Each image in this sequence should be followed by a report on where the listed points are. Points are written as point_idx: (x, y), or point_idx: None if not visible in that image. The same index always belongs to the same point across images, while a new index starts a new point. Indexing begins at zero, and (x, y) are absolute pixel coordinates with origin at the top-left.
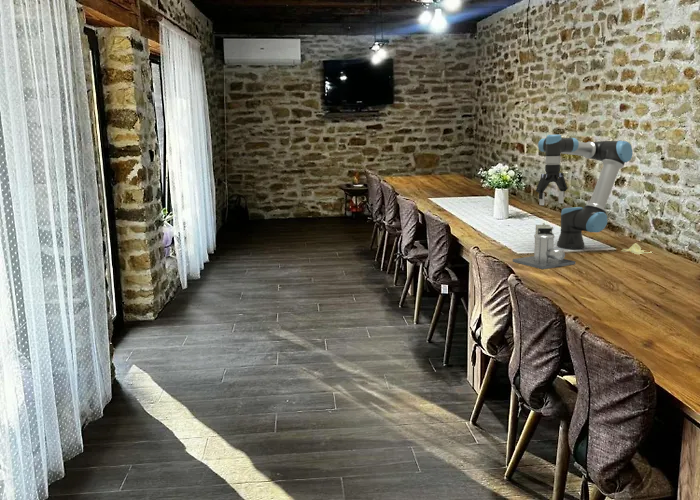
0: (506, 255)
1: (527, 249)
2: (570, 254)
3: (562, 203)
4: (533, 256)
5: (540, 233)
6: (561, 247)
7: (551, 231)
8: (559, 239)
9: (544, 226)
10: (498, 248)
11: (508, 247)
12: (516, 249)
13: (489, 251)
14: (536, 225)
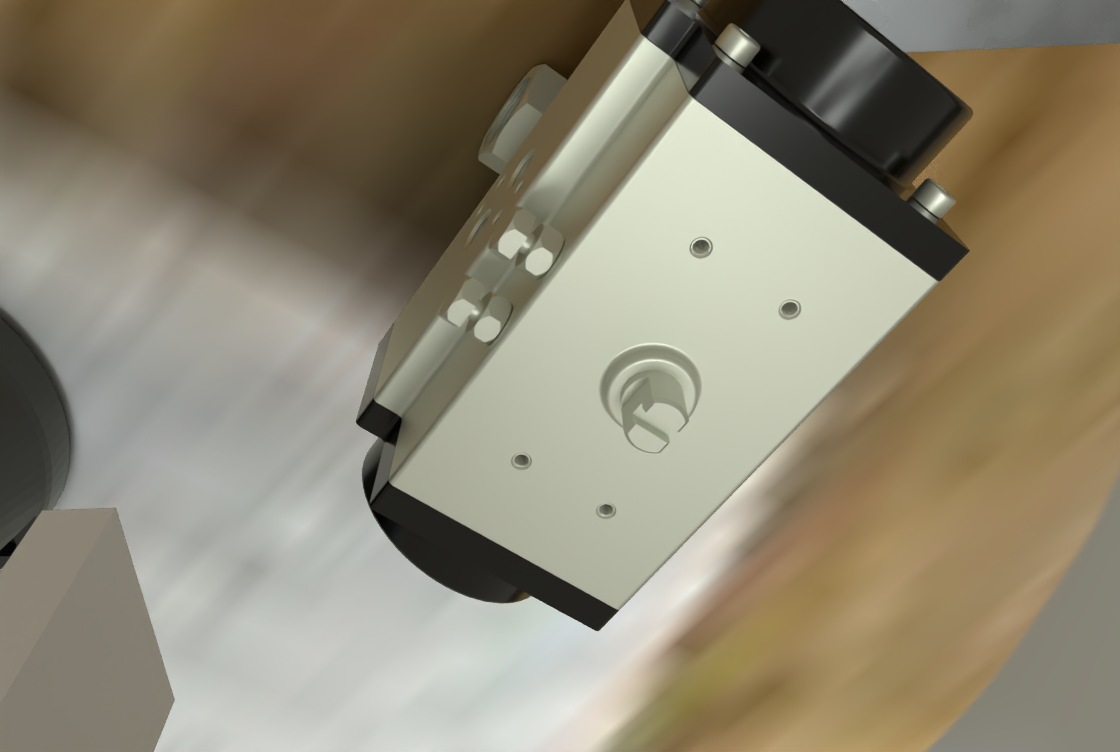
0: (1010, 405)
1: None
2: (191, 5)
3: (93, 509)
4: (966, 17)
5: (943, 138)
6: (58, 403)
7: (736, 30)
8: (4, 526)
9: (673, 354)
10: (745, 733)
11: (608, 726)
12: None
13: (963, 661)
14: (655, 569)
